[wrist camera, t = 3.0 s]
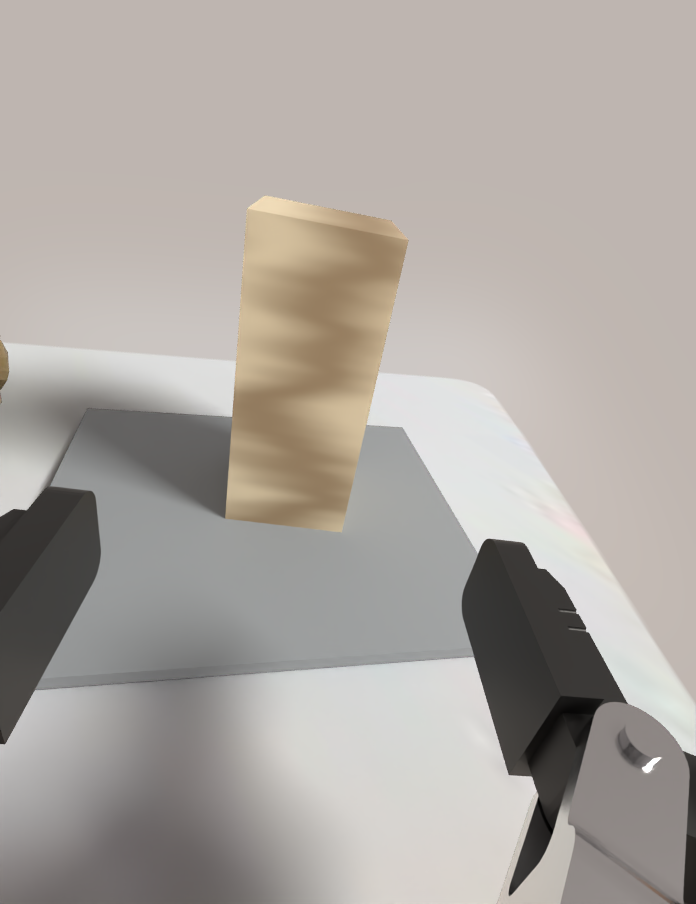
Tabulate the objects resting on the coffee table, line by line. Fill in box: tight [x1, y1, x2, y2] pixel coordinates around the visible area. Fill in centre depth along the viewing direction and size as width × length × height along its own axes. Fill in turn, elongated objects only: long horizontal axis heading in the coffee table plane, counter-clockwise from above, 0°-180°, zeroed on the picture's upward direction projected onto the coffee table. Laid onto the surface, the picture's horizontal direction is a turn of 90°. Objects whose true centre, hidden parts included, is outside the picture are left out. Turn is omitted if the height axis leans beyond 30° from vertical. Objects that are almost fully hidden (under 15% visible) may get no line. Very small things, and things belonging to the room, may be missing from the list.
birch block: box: [225, 196, 408, 532], centre depth 20 cm, size 5×5×12 cm
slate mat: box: [35, 408, 478, 690], centre depth 22 cm, size 18×16×1 cm
